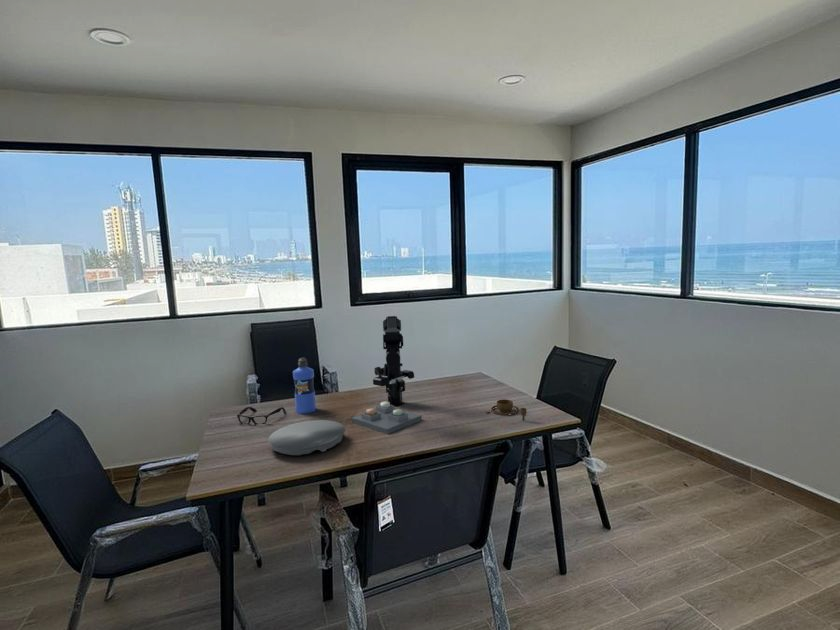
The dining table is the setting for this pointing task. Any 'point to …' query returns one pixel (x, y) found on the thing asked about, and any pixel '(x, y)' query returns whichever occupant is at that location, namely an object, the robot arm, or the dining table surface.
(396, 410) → the sage button
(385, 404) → the ivory button
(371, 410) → the terracotta button
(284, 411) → the glasses
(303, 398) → the water bottle
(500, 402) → the place setting
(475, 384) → the dining table surface
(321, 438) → the grey low domed part
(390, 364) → the robot arm
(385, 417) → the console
